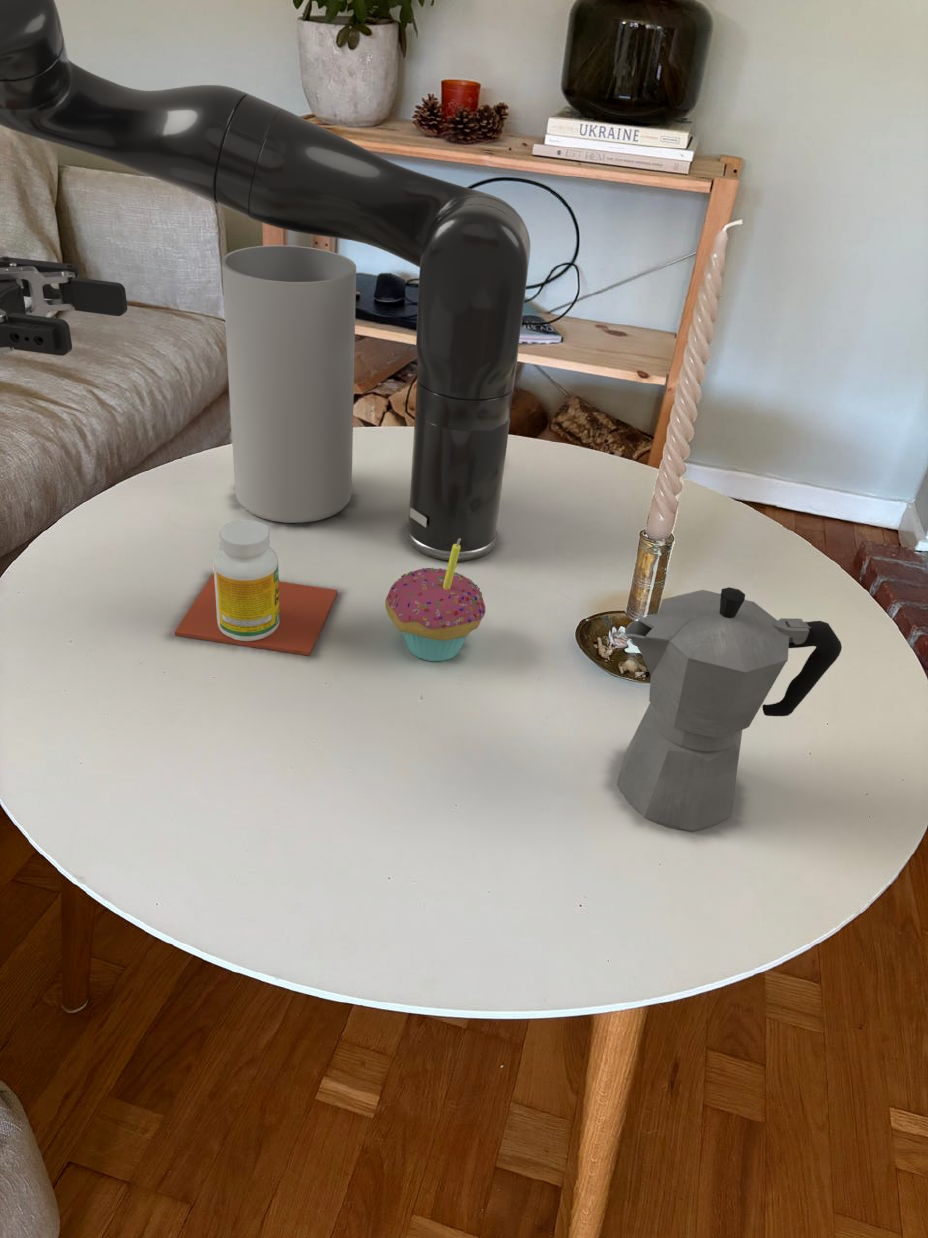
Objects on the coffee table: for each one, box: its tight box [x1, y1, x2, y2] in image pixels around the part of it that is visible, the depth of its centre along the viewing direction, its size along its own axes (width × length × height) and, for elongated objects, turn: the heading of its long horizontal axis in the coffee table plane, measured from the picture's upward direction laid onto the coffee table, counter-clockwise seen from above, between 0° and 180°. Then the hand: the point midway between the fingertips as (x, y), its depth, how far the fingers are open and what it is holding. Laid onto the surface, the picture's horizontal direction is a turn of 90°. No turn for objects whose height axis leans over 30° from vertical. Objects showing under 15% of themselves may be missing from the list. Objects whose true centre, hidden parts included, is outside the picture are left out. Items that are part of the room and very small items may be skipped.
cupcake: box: [384, 538, 487, 662], centre depth 82 cm, size 9×8×12 cm
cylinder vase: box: [221, 244, 357, 524], centre depth 98 cm, size 12×12×25 cm
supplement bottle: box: [212, 519, 280, 641], centre depth 82 cm, size 5×5×10 cm
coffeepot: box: [616, 586, 843, 832], centre depth 68 cm, size 15×9×18 cm, turn 95°
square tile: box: [174, 572, 338, 657], centre depth 87 cm, size 10×12×1 cm
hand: (98, 318), depth 65 cm, fingers open, 8 cm apart
